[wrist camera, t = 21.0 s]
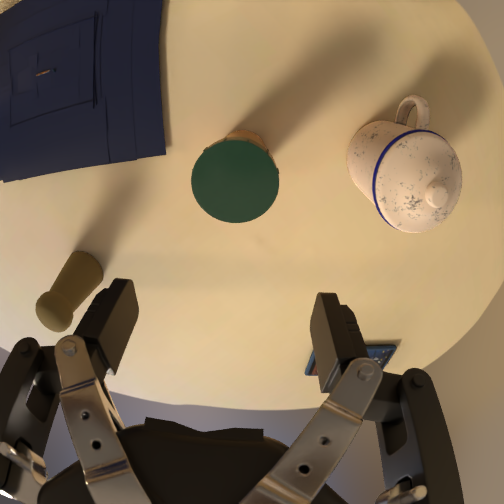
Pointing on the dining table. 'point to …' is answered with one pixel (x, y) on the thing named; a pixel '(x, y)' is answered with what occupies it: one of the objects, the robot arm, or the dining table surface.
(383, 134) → the teacup with lid
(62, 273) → the brown rounded tall piece
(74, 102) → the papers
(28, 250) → the dining table surface
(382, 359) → the smartphone
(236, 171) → the lid
